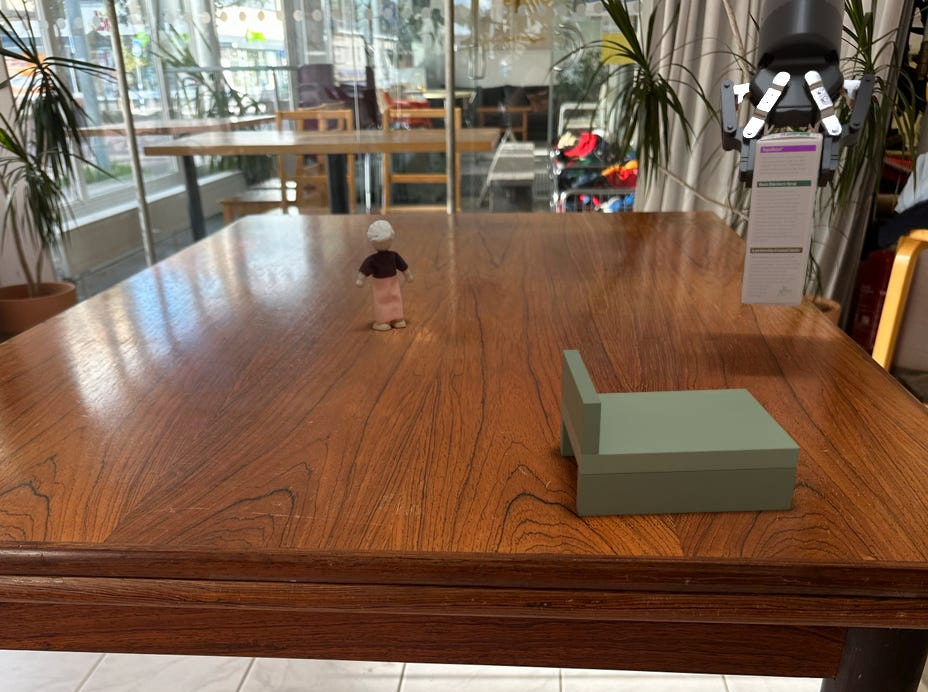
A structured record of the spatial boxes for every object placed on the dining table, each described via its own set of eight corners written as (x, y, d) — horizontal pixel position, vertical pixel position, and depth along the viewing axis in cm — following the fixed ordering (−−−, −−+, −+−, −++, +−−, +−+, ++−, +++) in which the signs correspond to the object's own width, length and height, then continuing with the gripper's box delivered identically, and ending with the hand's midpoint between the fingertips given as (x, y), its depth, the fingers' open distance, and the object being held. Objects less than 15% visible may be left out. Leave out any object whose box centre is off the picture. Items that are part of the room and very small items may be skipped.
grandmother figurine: (401, 320, 124) (395, 215, 118) (419, 324, 121) (413, 217, 115) (353, 330, 120) (344, 222, 113) (371, 335, 117) (362, 225, 111)
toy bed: (738, 447, 79) (751, 343, 75) (789, 514, 67) (809, 395, 63) (559, 453, 79) (562, 349, 75) (578, 521, 67) (583, 403, 63)
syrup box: (801, 307, 90) (827, 135, 82) (737, 305, 92) (756, 136, 84) (802, 294, 94) (827, 130, 87) (741, 292, 96) (760, 132, 89)
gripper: (724, 0, 88) (707, 153, 84) (890, -11, 84) (880, 149, 81) (720, 65, 95) (703, 210, 91) (873, 58, 91) (862, 208, 88)
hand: (786, 181), depth 86 cm, fingers closed on syrup box, 6 cm apart
